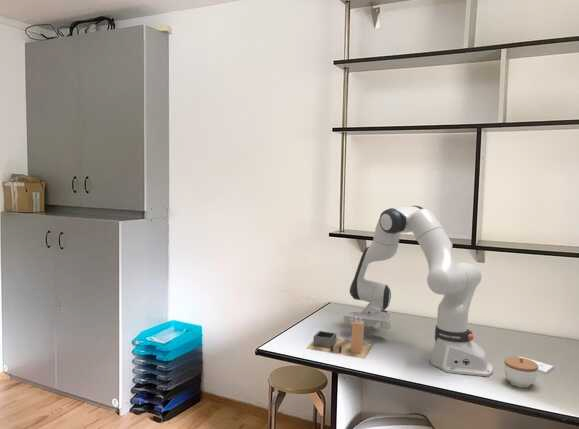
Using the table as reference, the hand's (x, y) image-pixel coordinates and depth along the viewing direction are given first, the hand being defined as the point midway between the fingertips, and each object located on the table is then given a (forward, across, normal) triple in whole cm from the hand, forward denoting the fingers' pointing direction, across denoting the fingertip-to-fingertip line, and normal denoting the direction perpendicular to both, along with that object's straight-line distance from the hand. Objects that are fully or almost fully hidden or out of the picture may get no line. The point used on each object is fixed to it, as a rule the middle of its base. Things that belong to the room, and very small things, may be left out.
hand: (363, 325), depth 202 cm
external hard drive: (-9, +65, +10) cm, 66 cm away
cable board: (+7, -8, +9) cm, 14 cm away
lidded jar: (+12, +59, +9) cm, 61 cm away
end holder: (+8, -14, +8) cm, 18 cm away
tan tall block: (+10, 0, +8) cm, 13 cm away
